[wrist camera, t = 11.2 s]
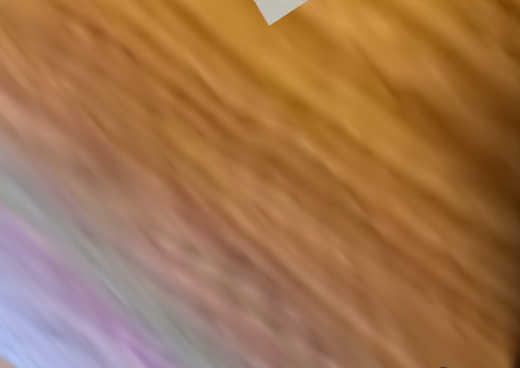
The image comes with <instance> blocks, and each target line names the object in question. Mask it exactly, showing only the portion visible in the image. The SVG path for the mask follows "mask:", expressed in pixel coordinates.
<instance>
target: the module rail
mask: <svg viewBox="0 0 520 368" xmlns="http://www.w3.org/2000/svg"><path fill="white" fill-rule="evenodd" d="M254 1H255V3H256V4H257V6H258V8H259V9H260V11H261V13H262V15H263V16H264V18H265V20H266V21H267V23H268V25H271V24H273V23H274V22H276V21H277V20H279V19H280V18H282V17H283V16H285V15H286V14H288V13H290V12H291V11H293V10H294V9H296V8H297V7H299V6H300V5H302V4H303V3H305V2H306V1H308V0H254Z"/></svg>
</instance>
